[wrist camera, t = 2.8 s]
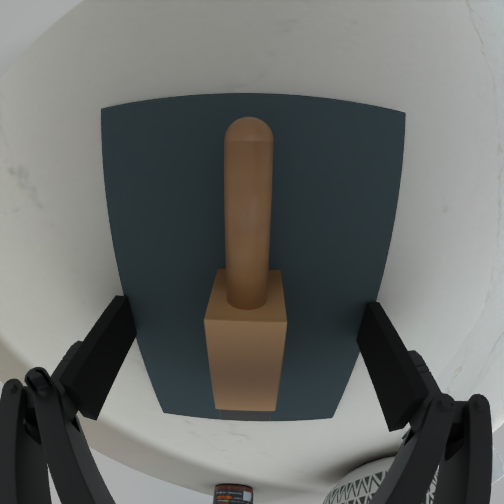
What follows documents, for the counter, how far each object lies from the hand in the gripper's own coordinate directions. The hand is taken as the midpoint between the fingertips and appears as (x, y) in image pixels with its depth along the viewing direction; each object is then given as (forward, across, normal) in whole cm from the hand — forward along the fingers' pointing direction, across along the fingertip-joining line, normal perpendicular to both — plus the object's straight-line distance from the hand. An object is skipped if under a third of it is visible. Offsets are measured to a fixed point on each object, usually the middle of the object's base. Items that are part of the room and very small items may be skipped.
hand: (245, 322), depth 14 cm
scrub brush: (0, 0, +3) cm, 3 cm away
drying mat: (+1, 0, 0) cm, 1 cm away
